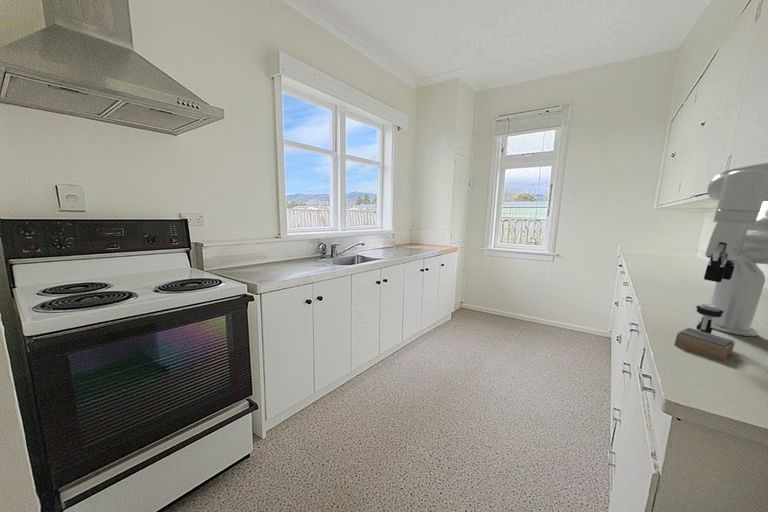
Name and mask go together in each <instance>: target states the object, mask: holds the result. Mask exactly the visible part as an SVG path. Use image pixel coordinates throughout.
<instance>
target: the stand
mask: <svg viewBox="0 0 768 512" xmlns="http://www.w3.org/2000/svg"><path fill="white" fill-rule="evenodd" d="M735 344H736V341H734V340H733V339H730V338H726V337H723V336H719V335H715V334H714V333H713V334H712V333H711V334H709V333H706V332H702V331H699V330H697V329H695V328H691V327H687V328H685V329H682V330H680V331H678V332H677V334H676V336H675V341H674V346H677V347H680V348H683V349H687V350H689V351H691V352H695V353H697V354H701V355H704V356H707V357H709V358H712V359H715V360H719V361H722V362H724V361H725V360H726V359H728V358H729V357H730V356H731V355H732V353H733V351H734V347H735Z"/></svg>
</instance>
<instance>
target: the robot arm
mask: <svg viewBox="0 0 768 512" xmlns="http://www.w3.org/2000/svg"><path fill="white" fill-rule="evenodd" d="M706 190H707V195H708V197H709V198H710V199H712V200H714V201H718V203H717V206H716V211H715V215H714V217H713V223H715V226H714V228H713V230H712V233H711V237H710V238H709V242H708V245H707V248H706V251H705V254H704V256H705V257H706V258H707V259H708V258H709V261H708V263H707V266H706V269H705V273H704V276H703V280H705V281H709V282H714V283H715V284H714V288H713V291H712V296H711V299H710V303H709V304H711V305H715V306H718V307H720V310H721V311H723V312H724V313H723V314H722V315H721V317H717V318H712V319H711V320H712V321H711V328H713V329H712V330H716V331H720V332H724V333H728V334H733V335H737V336H745V337H756V336H758V331H757V330H756V329H754V328H752V323H753V321H754V318H755V315H756V312H757V308H758V305H759V302H760V299H761V296H762V293H763V290H764V286H765V283H766V276H765V274H764V272H763V271H762V270H761V268H759V266H758V264H761V265H768V161H766V162H763V163H758V164H757V163H756V164H753V165H752V164H751V165H747V166H742V167H737V168H732V169H727V170H724V171H722V172H720V173H718V174H717V175H715V176H714V177H713V178H712V179H711V180H710V182H709V183H708V185H707V189H706ZM702 318H703V316H701V317H698V321H697V322H698V323H699V324H700V322H701V320H702Z"/></svg>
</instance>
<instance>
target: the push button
mask: <svg viewBox="0 0 768 512" xmlns="http://www.w3.org/2000/svg"><path fill="white" fill-rule="evenodd" d="M695 309H696V312H697V313H698V314H699V315H701V316H702V317H703V318H702V320H701V322H700V323H699V324H697V325H696V330H699V331H702V332H706V333H709V334H712V331H713V330H714V329H713V328H711V321H712V320H711V319H712V318H717V317H721V315H722V314H723V313H724V312H723V311H721V310H720V307H718V306H715V305H711V304H710V303H701V305H696V306H695Z"/></svg>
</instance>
